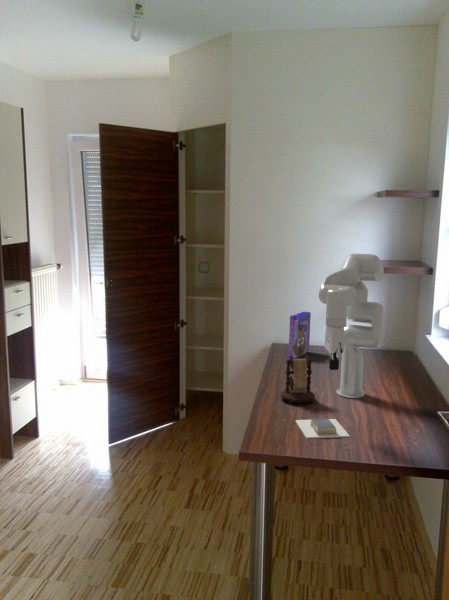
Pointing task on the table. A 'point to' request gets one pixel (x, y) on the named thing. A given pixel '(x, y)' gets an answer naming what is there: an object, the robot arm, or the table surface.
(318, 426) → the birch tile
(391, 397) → the table surface
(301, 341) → the cereal box
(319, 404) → the table surface
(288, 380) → the brown wooden ornament
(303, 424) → the rubber mat
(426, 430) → the table surface
